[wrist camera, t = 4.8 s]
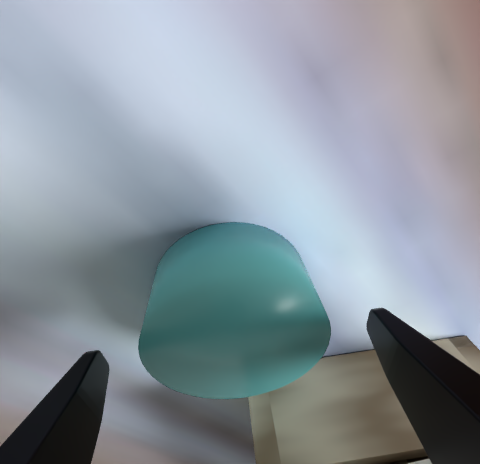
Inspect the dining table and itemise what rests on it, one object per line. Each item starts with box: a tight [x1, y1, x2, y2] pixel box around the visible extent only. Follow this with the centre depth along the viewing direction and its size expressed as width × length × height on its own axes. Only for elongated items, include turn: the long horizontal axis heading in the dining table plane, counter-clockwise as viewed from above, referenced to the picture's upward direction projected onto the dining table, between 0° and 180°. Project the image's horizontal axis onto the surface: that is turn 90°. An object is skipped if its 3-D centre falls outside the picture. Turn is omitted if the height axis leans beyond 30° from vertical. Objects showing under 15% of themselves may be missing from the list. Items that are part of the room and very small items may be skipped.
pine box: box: [248, 336, 480, 464], centre depth 16 cm, size 12×14×4 cm
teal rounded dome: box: [138, 222, 331, 399], centre depth 10 cm, size 6×6×3 cm
